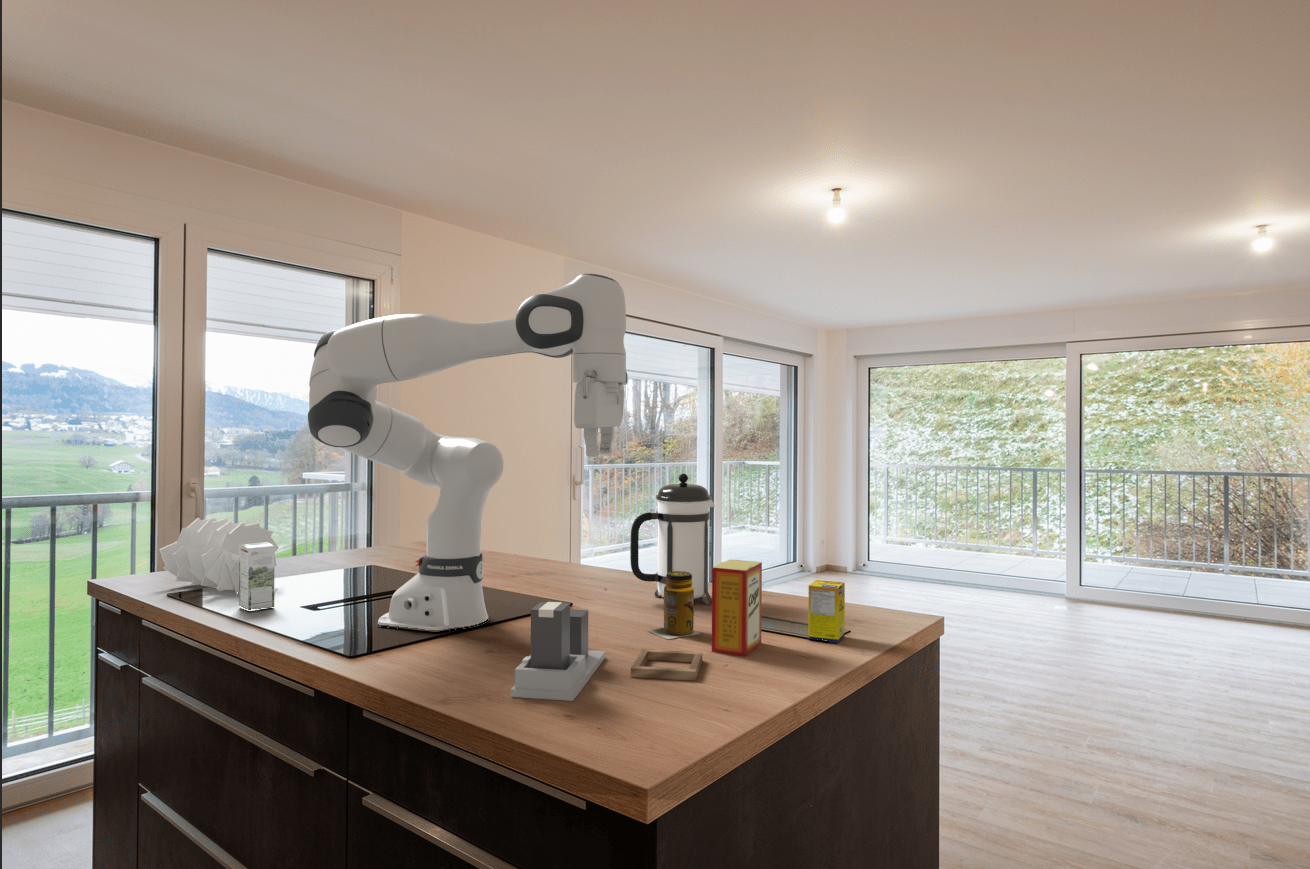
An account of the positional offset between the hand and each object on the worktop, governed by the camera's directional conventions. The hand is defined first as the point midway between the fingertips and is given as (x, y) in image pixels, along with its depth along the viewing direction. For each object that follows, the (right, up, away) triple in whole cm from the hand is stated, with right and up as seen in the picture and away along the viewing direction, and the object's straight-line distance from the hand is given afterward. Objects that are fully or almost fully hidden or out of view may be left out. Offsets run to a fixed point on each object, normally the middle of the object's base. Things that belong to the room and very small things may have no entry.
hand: (599, 455), depth 135 cm
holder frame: (+12, -37, +4) cm, 39 cm away
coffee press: (+15, -36, +54) cm, 67 cm away
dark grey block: (-7, -36, -6) cm, 37 cm away
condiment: (+13, -37, +27) cm, 48 cm away
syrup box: (-80, -36, +46) cm, 99 cm away
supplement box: (+43, -37, +23) cm, 61 cm away
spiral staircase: (-99, -35, +66) cm, 124 cm away
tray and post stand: (-6, -37, 0) cm, 38 cm away
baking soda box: (+25, -37, +17) cm, 48 cm away
